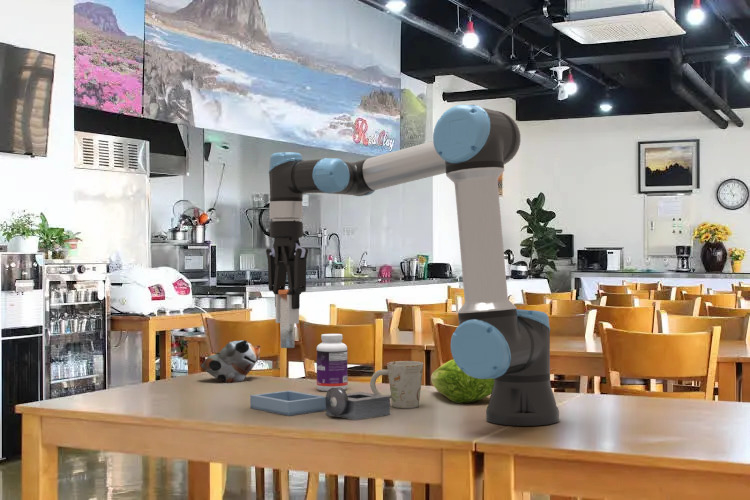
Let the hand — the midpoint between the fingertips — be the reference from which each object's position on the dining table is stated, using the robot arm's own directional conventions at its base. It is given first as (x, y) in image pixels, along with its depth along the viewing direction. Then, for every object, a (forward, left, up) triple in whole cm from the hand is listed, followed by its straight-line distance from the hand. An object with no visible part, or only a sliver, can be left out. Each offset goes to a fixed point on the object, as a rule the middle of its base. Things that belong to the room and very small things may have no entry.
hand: (287, 322), depth 226 cm
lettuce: (-15, -40, -20) cm, 47 cm away
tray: (0, 0, -20) cm, 20 cm away
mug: (-14, -21, -20) cm, 32 cm away
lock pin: (0, 0, -6) cm, 6 cm away
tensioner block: (-17, -7, -20) cm, 27 cm away
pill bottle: (+18, -27, -20) cm, 38 cm away
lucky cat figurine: (+54, -19, -20) cm, 61 cm away
